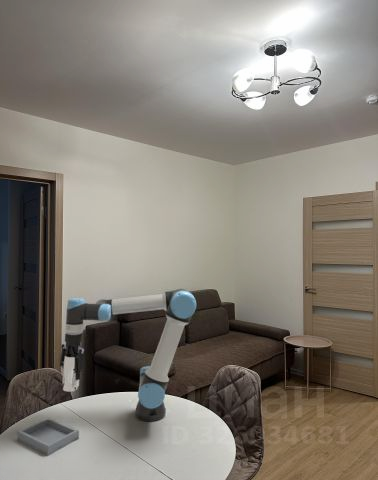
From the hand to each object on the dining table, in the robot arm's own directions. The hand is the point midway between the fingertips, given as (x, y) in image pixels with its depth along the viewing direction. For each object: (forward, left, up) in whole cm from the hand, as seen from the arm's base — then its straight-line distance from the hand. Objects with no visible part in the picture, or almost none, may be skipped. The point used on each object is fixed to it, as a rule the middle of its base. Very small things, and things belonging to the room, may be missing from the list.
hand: (70, 384), depth 155 cm
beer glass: (0, 0, -2) cm, 2 cm away
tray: (0, +10, -20) cm, 22 cm away
